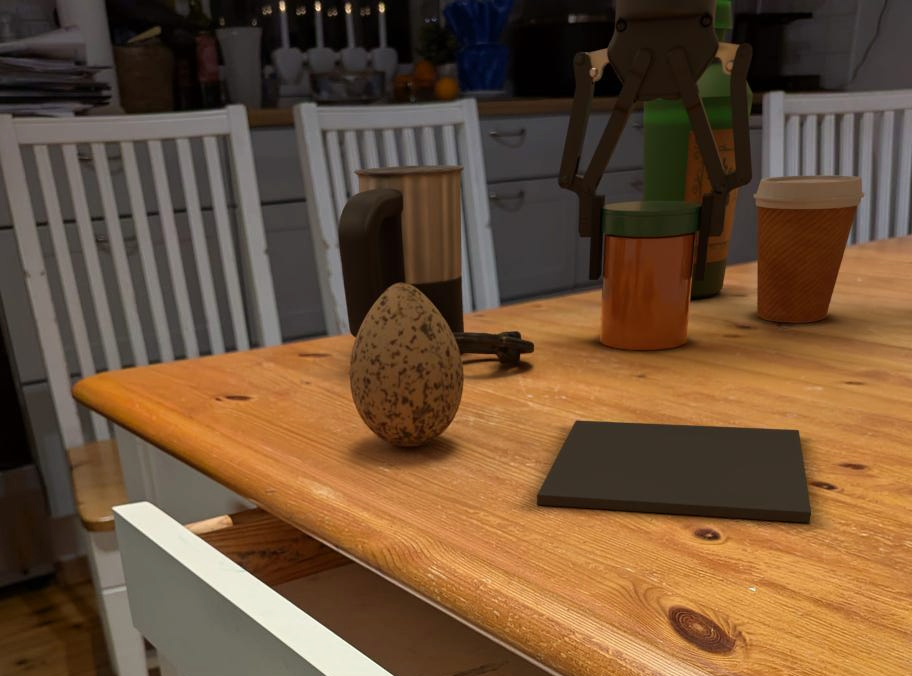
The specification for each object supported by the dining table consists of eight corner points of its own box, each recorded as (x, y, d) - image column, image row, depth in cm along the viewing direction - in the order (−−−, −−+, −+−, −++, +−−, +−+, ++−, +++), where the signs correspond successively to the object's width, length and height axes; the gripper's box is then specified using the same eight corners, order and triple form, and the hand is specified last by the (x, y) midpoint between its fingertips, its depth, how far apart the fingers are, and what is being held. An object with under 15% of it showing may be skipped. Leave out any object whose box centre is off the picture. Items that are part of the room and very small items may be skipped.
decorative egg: (456, 463, 58) (451, 292, 54) (343, 461, 60) (328, 294, 55) (472, 428, 65) (469, 272, 60) (369, 427, 66) (358, 274, 61)
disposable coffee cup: (864, 322, 89) (889, 179, 83) (767, 329, 88) (786, 185, 82) (812, 304, 97) (831, 173, 91) (723, 310, 96) (737, 178, 90)
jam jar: (688, 332, 88) (699, 206, 83) (684, 351, 82) (695, 216, 76) (605, 331, 90) (611, 207, 85) (594, 349, 84) (600, 217, 78)
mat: (797, 439, 60) (799, 429, 60) (809, 523, 48) (811, 512, 48) (575, 428, 64) (575, 420, 63) (536, 505, 52) (536, 494, 52)
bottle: (728, 303, 99) (763, -24, 86) (625, 301, 102) (642, -14, 89) (734, 285, 108) (767, -14, 94) (639, 284, 111) (657, -5, 97)
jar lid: (703, 223, 84) (705, 200, 83) (699, 235, 77) (701, 210, 76) (607, 224, 86) (608, 201, 85) (594, 236, 79) (595, 211, 78)
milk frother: (380, 338, 91) (369, 164, 84) (546, 339, 88) (549, 158, 80) (337, 376, 79) (319, 177, 71) (528, 379, 76) (530, 170, 68)
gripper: (814, -47, 72) (773, 271, 84) (539, -26, 78) (535, 270, 89) (820, -59, 66) (775, 286, 77) (521, -36, 72) (519, 284, 83)
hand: (646, 277), depth 83 cm, fingers closed on jar lid, 8 cm apart
